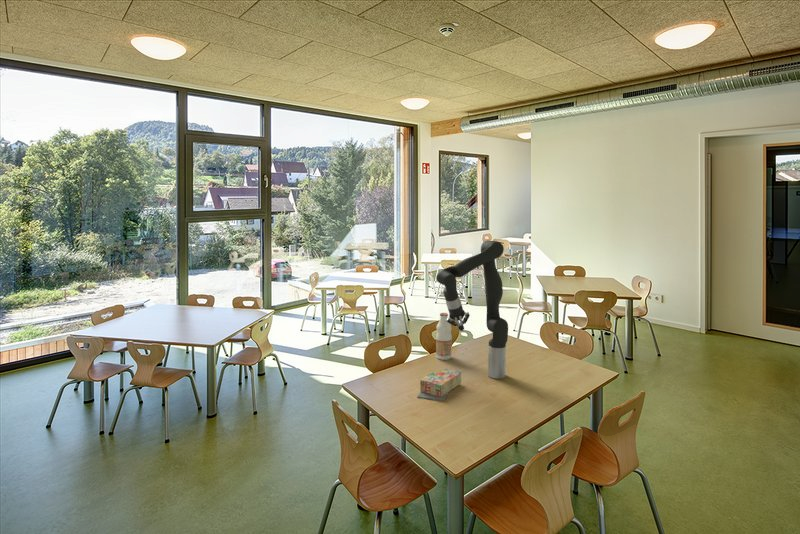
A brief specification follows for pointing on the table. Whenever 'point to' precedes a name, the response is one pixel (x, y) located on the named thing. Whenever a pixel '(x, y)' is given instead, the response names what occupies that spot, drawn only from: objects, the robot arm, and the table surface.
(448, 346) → the fruit juice
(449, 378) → the patterned cardboard box
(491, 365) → the robot arm
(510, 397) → the table surface
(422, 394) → the mat
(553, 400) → the table surface
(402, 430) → the table surface
